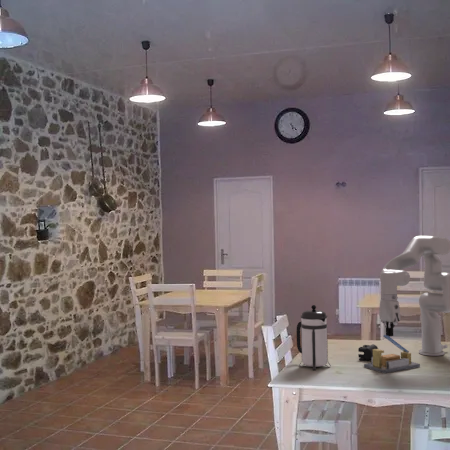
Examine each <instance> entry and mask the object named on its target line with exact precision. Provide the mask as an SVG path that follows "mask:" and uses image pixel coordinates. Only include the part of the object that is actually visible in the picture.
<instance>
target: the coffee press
mask: <svg viewBox="0 0 450 450" xmlns="http://www.w3.org/2000/svg"><path fill="white" fill-rule="evenodd" d="M300 319H301V320H300V321H299V322H298V323H297V325H296V348H297V350H298V352H299V353H300V354H301V361H300V363H299V367H300V368H302V367H303V366H306V367H312V371H316V369H317V367H323V366H326V368H331V363H330V362H329V361H328V358H329V356H328V355H329V351H328V350H329V348H328V347H329V345H328V322H327V321H328V320H327V319H328V315H327V313H326V311H324V310H321V309H317V306H316V304H312V305H311V309H307V310H304V311H302V313H301V315H300ZM301 364H303V365H301ZM327 364H328V365H329V366H328V365H327Z"/></svg>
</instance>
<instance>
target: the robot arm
mask: <svg viewBox="0 0 450 450" xmlns="http://www.w3.org/2000/svg"><path fill="white" fill-rule="evenodd" d="M449 253H450V240H449V239H448V238H447V237H442V236H441V237H440V236H435V235H416V236H414V237H412V239H410V241H409V243H408V244H407V246H406V247H405V249H404V250H403V252H402V253H401V254H399V255H397V256H395V257H393V258H392V259H391V260H389V261H387V262H386V263H385V265H384V266H383V268H382V269H381V271H380V273H379V274H380V275H379V281H380V300H379V311H378V312H379V313H378V315H379V319H380V322H381V323H382V324H383V325H384V328H385V335H387V336H389V337H390V338H391V337H394V328H395V326H398V325H399V322H401V308H400V302H399V300H398V286H399V287H403V286H407V285H408V284H409V283H410V281H411V275H410V273H409V272H408V271H406V270H405V269H408V268H412V267H413V266H416V265H417V264H418V263H419V261H420V260H421V258H423V260H424V274H423V275H424V276H423V286H424V288H425V289H426V290H428V291H429V290H430V291H440V292H441V291H442V293H440V292H439V293H438V292H424V293H421V294H420V295H419V298H418V304H419V310H420V319H421V321H420V322H421V349H419V350H418V354H420V355H423V356H430V357H431V356H432V357H437V356H443V355H445V351H444V349H448V345H447V344H442V332H441V331H442V329H441V327H442V325H441V324H442V322H441V317H440V314H439V313H446V314H447V313H450V272H443V262H442V259H441V258H440V256H443V255H444V256H447V255H448V254H449ZM439 255H440V256H439ZM403 269H404V270H403Z"/></svg>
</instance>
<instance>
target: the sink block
mask: <svg viewBox="0 0 450 450" xmlns="http://www.w3.org/2000/svg"><path fill="white" fill-rule="evenodd" d="M384 353H385V350H383V349H379V348H378V349H373V357H372V359H371V362H369V363H364V364H363V368H364V369H369V370H372V371H374V372H378V373H381V374H389V373H394V372H400V371H406V370H413V369H416V368H420V367H421V365H420V363H418V362H414V361H412V353H411V352H409V353H406V352H403V351H401V352H400V355H399V354H395V353H389V354H384Z"/></svg>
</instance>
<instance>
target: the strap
mask: <svg viewBox="0 0 450 450" xmlns="http://www.w3.org/2000/svg"><path fill="white" fill-rule="evenodd" d="M383 337H384V338H385V340H387V341H389V343H391V344H392V345H394V346H395V347H396V348H398V349H399V350H400V351H401V352H406V353H410V351H409V350H407V349H406V348H405V347H404V346H402V345H401V344H400V343H398V342H397V341H396V340H394V338H392V337H391V336H390V337H389V336H387V335H386V334H383Z"/></svg>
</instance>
